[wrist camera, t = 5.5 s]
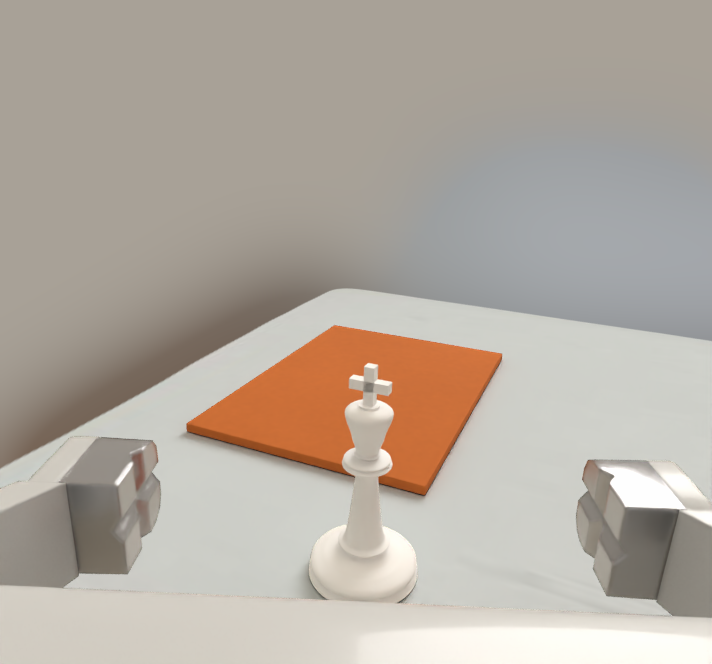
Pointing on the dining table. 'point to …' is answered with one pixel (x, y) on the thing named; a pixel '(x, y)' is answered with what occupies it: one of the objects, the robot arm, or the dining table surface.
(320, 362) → the cloth mat
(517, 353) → the dining table surface
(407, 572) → the chess piece
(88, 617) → the robot arm
